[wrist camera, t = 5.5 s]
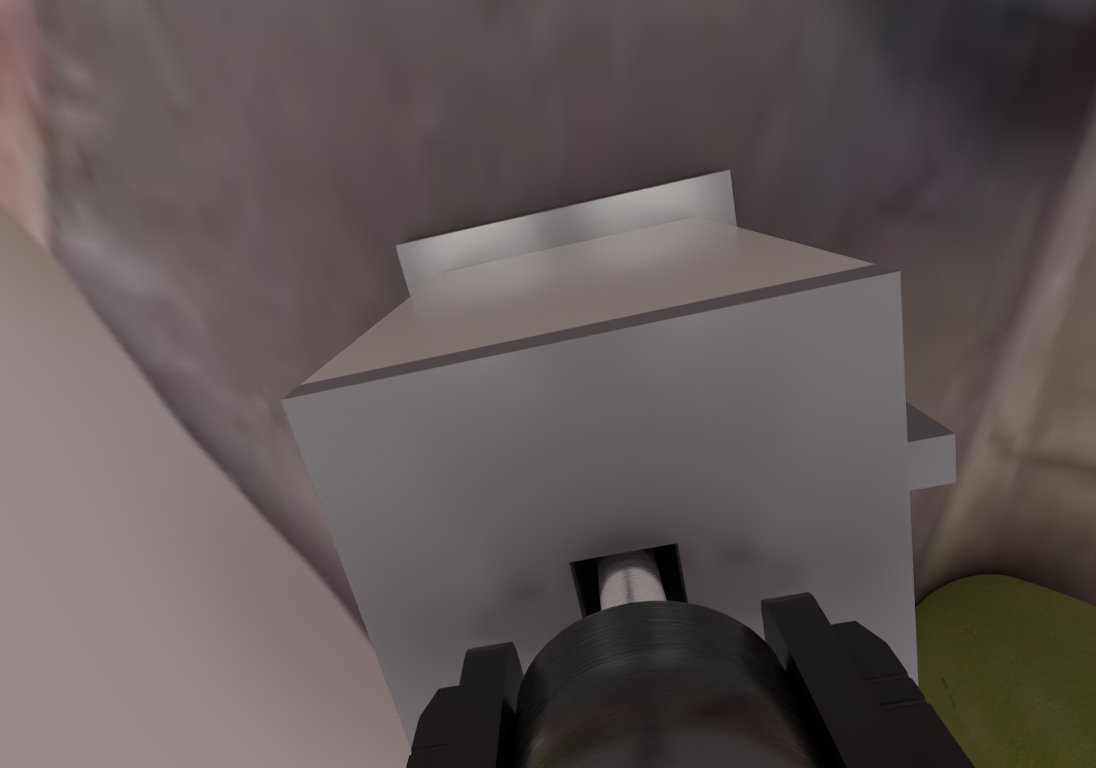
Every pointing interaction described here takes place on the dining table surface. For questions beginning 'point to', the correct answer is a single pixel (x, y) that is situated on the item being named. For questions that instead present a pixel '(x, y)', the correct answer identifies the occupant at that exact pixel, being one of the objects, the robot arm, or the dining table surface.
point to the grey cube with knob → (618, 431)
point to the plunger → (658, 687)
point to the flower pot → (1010, 671)
